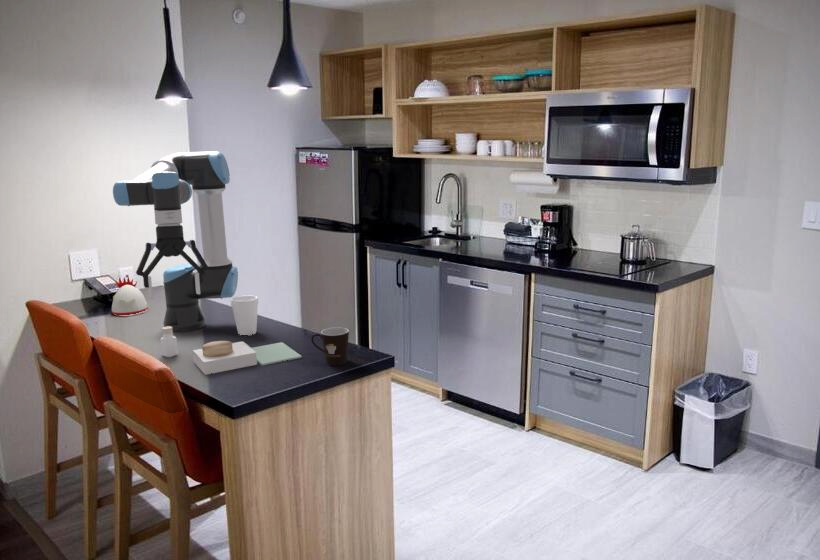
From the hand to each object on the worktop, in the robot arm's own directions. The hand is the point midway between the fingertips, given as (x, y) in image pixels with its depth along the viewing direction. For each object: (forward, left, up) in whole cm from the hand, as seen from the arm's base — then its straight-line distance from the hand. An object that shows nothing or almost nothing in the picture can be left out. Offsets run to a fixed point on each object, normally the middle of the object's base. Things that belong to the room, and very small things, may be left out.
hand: (175, 296), depth 203 cm
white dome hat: (-88, -2, -24) cm, 92 cm away
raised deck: (+1, +13, -24) cm, 27 cm away
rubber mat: (+1, +28, -24) cm, 37 cm away
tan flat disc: (+1, +11, -20) cm, 22 cm away
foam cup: (-28, +29, -24) cm, 47 cm away
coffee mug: (+19, +42, -24) cm, 52 cm away
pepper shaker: (-18, 0, -24) cm, 30 cm away
